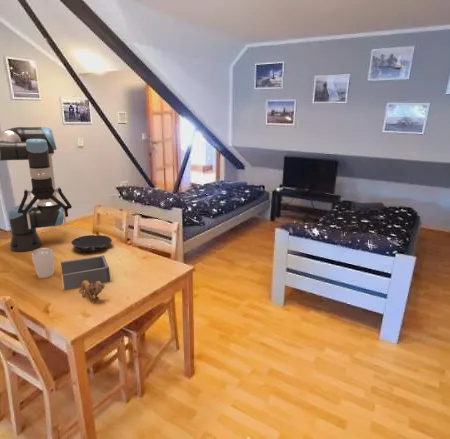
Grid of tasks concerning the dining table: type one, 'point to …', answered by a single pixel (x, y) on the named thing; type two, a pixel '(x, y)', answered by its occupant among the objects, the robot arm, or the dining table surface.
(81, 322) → the dining table surface
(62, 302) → the dining table surface
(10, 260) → the dining table surface
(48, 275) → the cup
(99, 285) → the lion figurine
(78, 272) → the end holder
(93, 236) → the board
